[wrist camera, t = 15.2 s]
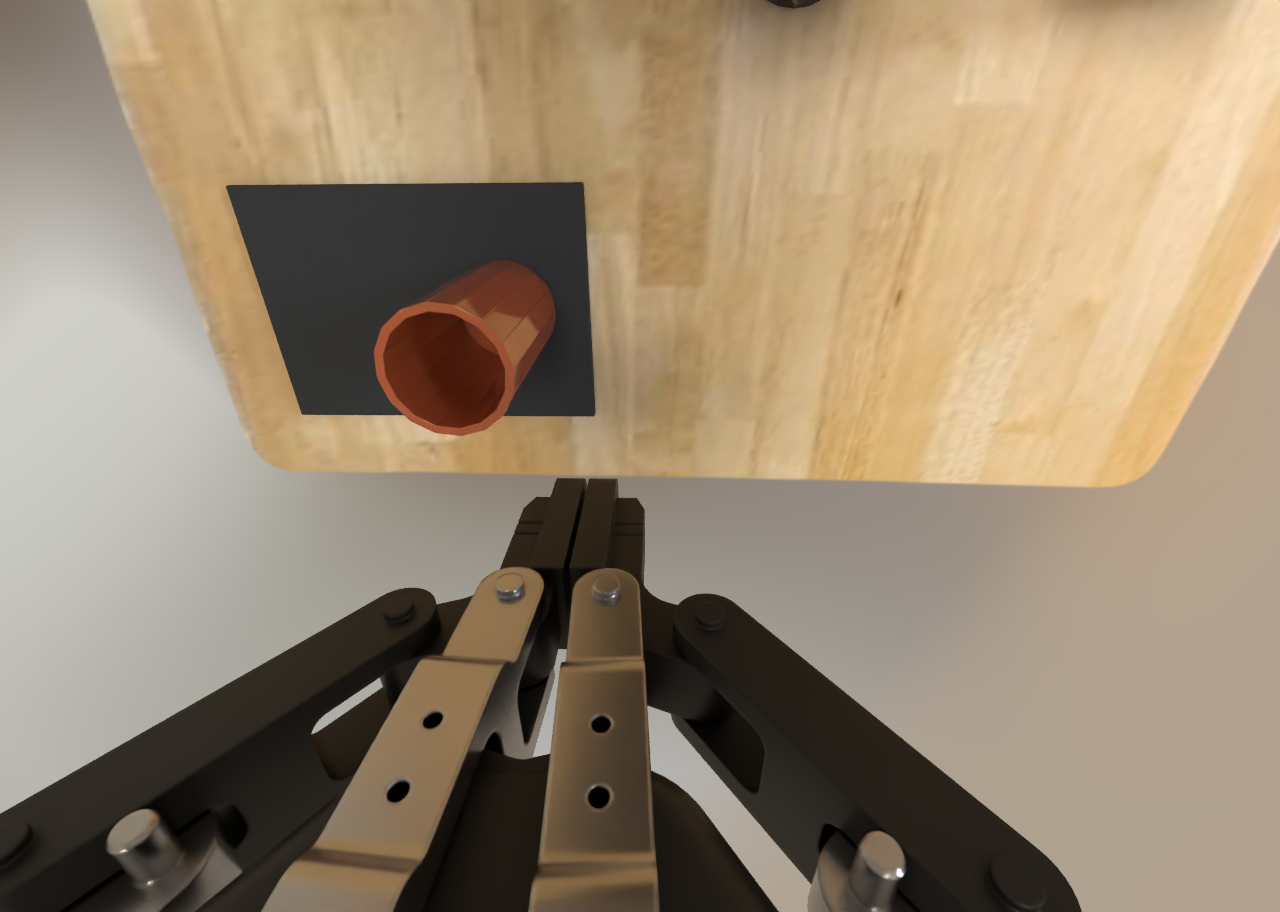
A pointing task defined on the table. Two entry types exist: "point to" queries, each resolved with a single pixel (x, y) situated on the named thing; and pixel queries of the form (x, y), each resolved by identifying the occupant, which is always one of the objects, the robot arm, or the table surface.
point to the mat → (410, 277)
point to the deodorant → (793, 3)
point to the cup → (466, 347)
